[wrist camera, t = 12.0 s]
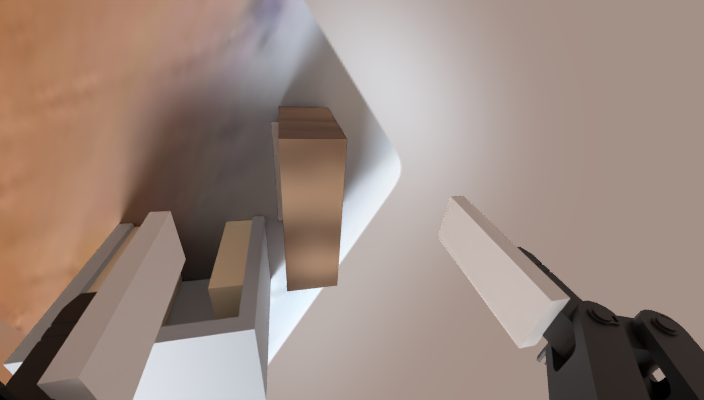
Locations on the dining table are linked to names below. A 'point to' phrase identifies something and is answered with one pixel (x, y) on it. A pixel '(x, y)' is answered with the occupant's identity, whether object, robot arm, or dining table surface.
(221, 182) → the dining table surface
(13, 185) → the dining table surface
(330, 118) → the walnut blank
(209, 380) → the white storage bin
